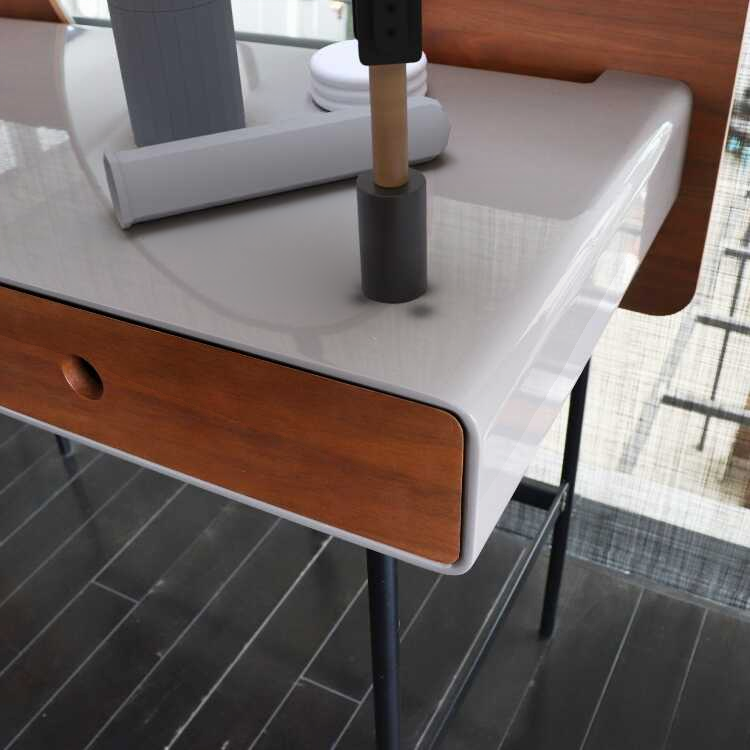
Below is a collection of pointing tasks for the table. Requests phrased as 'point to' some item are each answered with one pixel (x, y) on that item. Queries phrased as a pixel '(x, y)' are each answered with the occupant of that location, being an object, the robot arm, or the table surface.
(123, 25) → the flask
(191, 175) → the tube
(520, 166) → the table surface
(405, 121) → the brush
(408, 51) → the robot arm
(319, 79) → the white thick disc
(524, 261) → the table surface
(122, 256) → the table surface
